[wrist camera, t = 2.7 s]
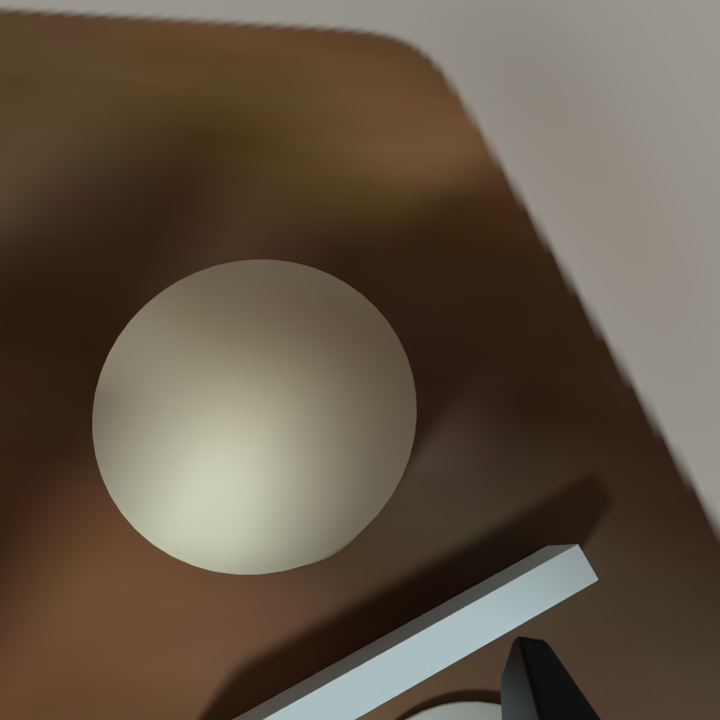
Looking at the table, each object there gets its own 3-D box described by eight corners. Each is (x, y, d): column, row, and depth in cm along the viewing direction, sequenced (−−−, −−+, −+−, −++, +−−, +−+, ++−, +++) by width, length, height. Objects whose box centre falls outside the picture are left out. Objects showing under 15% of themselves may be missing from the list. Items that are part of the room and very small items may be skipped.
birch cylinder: (346, 589, 18) (357, 624, 9) (189, 533, 19) (33, 507, 9) (397, 431, 20) (453, 312, 10) (250, 381, 20) (173, 222, 10)
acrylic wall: (188, 789, 16) (163, 828, 14) (174, 751, 17) (148, 783, 14) (564, 576, 18) (598, 579, 16) (547, 545, 19) (577, 544, 16)
